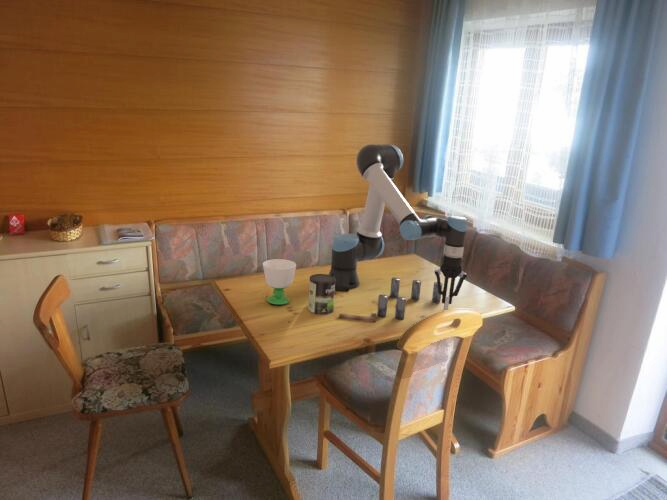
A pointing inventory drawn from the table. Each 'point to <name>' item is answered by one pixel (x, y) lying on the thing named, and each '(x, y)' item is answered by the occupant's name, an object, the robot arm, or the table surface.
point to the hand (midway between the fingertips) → (445, 310)
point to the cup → (279, 278)
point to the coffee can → (321, 294)
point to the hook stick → (359, 317)
